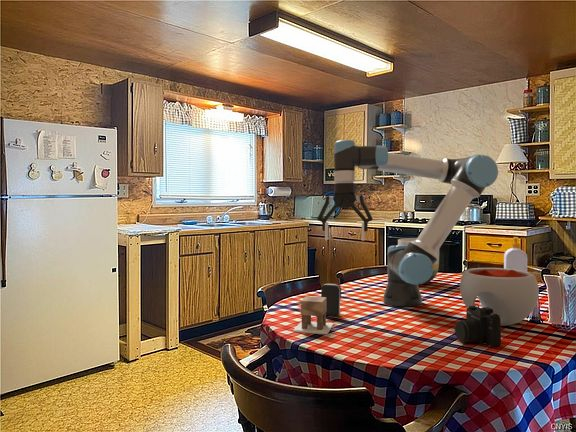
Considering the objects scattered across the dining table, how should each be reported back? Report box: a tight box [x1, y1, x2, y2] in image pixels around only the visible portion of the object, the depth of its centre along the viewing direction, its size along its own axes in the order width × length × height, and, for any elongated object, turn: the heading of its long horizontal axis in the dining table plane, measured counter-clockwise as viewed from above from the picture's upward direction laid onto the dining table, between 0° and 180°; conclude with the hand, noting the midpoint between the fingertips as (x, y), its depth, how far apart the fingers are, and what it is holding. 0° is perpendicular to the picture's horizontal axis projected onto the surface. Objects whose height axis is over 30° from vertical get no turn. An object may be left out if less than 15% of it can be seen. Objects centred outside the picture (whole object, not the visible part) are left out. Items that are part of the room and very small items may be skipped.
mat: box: [292, 320, 335, 335], centre depth 150 cm, size 11×11×1 cm
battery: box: [320, 282, 342, 317], centre depth 166 cm, size 7×4×11 cm, turn 65°
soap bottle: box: [503, 236, 528, 272], centre depth 216 cm, size 9×7×23 cm
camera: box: [454, 304, 502, 349], centre depth 135 cm, size 14×11×10 cm
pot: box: [459, 267, 540, 327], centre depth 154 cm, size 24×24×18 cm
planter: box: [397, 237, 440, 285], centre depth 225 cm, size 20×20×21 cm
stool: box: [300, 295, 327, 330], centre depth 149 cm, size 7×7×9 cm
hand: (344, 240), depth 170 cm, fingers open, 13 cm apart
